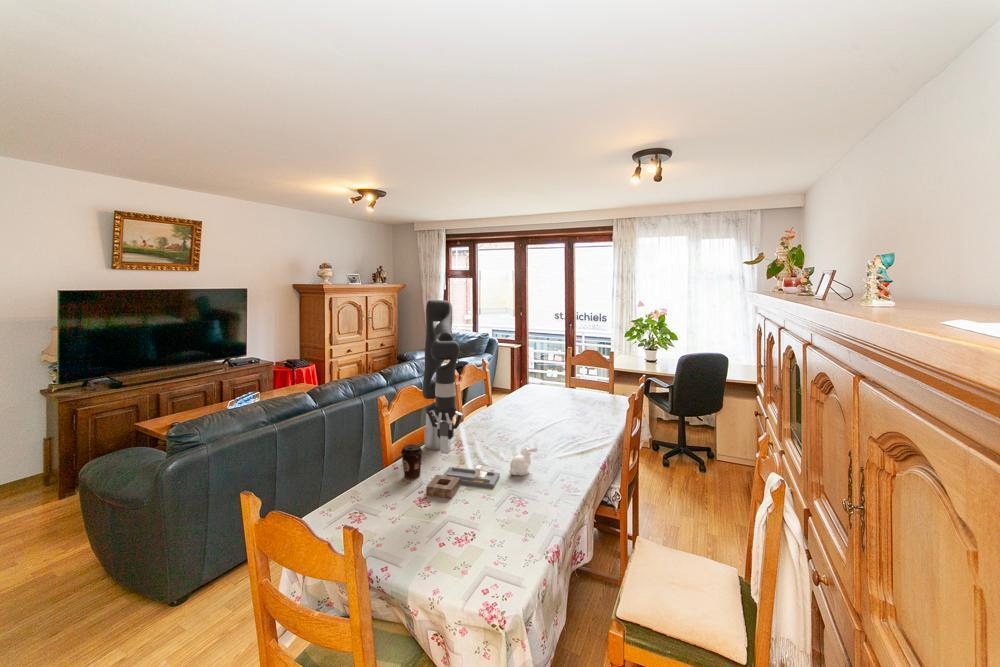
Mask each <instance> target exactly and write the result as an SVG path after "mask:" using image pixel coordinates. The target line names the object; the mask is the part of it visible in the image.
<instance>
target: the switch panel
mask: <svg viewBox="0 0 1000 667" xmlns="http://www.w3.org/2000/svg"><path fill="white" fill-rule="evenodd" d="M482 471H483V472H487V476H486V478H480V477H475V468H466V467H458V466H452V467H451V466H449V467H448V468H447V469H446V471H444V473H443V474H442V475H443V476H451V477H459V478H460V485H468V486H476V487H483V488H489V489H494V488H495V486H496V485H497V482H498V481H499V479H500V476H501V474H500V472H495V471H491V470H483V469H482Z"/></svg>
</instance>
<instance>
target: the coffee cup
mask: <svg viewBox="0 0 1000 667" xmlns="http://www.w3.org/2000/svg"><path fill="white" fill-rule="evenodd" d="M423 453H424V452H423V449H422V447H421V445H418V444H411V443H410V444H406V445H404V446H403V447H402V450H400V454H402V457H401V459H402V469H403V472H404V474H403V475H404V479H406V480H411V481H412V480H417V479H418V478H420V477H421V468H422V466H421V465H422V456H423V455H422V454H423Z"/></svg>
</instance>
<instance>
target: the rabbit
mask: <svg viewBox="0 0 1000 667" xmlns="http://www.w3.org/2000/svg"><path fill="white" fill-rule="evenodd" d="M537 449H538V447H537V446H536V447H526V446H524V447H523V448H522V449H521V451H520V454H519V455H516V456H514V457H512V459H511V461H510V463H509V464H510V465H509V467H510V468H509V471H508V472H509V474H510V475H512V476H519V477H522V475H523V476H526V475H529V474H528V473H530V472H529V471H528V470H529V467H530V465H531V463H532V460H531V458H532V457H531V453H537V451H538V450H537ZM525 474H526V475H525Z"/></svg>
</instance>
